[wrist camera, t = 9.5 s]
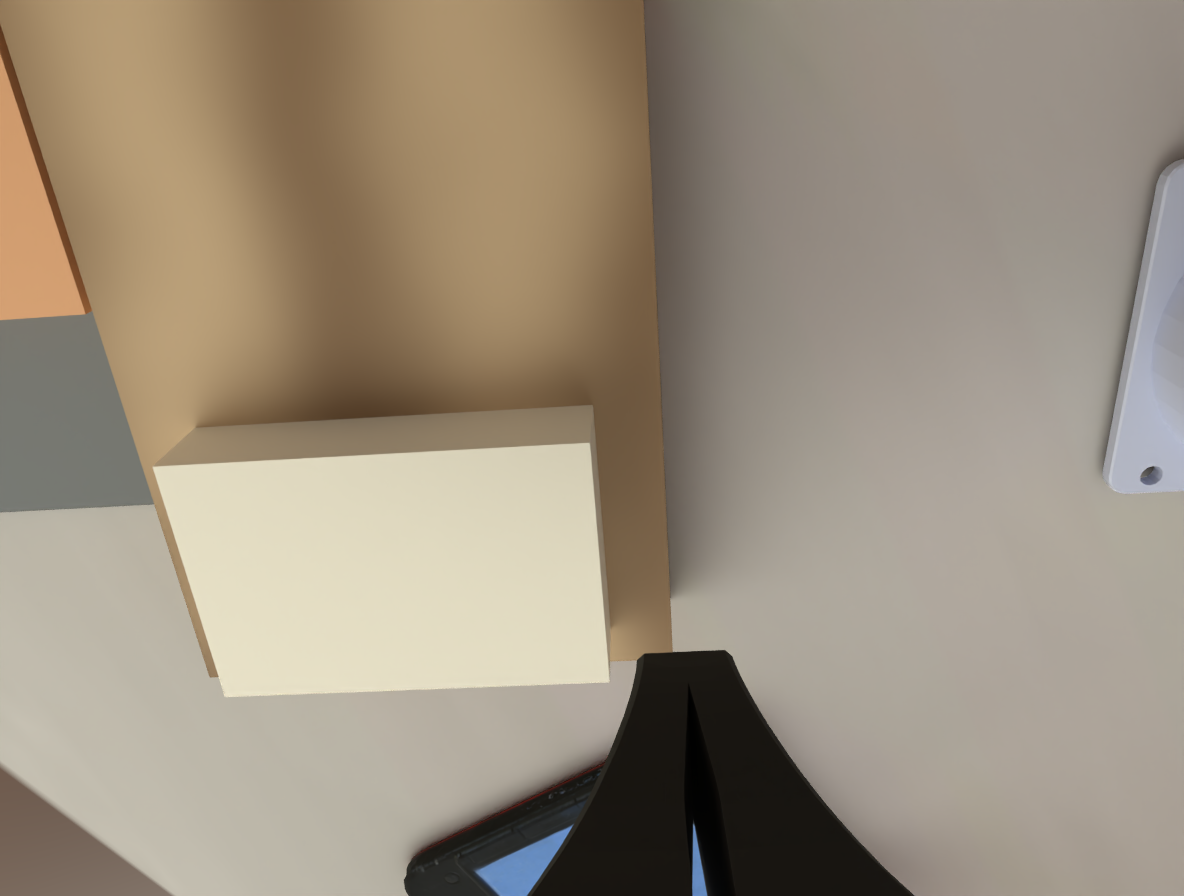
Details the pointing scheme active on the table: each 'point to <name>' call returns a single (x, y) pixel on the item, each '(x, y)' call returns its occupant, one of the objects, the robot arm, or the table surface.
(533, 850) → the handheld game console
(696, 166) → the table surface
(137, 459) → the mat
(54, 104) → the deck
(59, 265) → the orange rectangular block
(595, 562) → the cream rectangular block
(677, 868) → the robot arm
